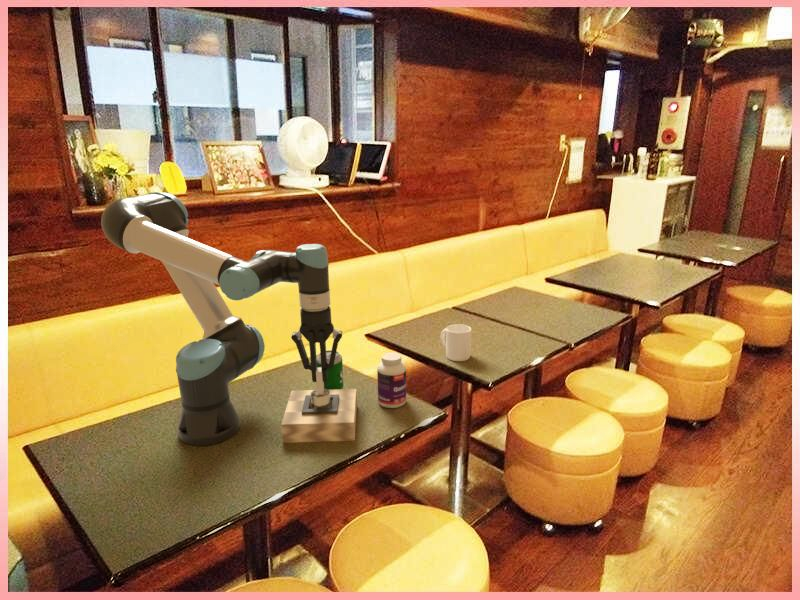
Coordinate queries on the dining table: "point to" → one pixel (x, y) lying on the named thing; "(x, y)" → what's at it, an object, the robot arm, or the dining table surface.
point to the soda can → (333, 372)
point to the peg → (320, 400)
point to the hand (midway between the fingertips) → (320, 392)
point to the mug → (457, 342)
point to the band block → (320, 418)
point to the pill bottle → (391, 381)
